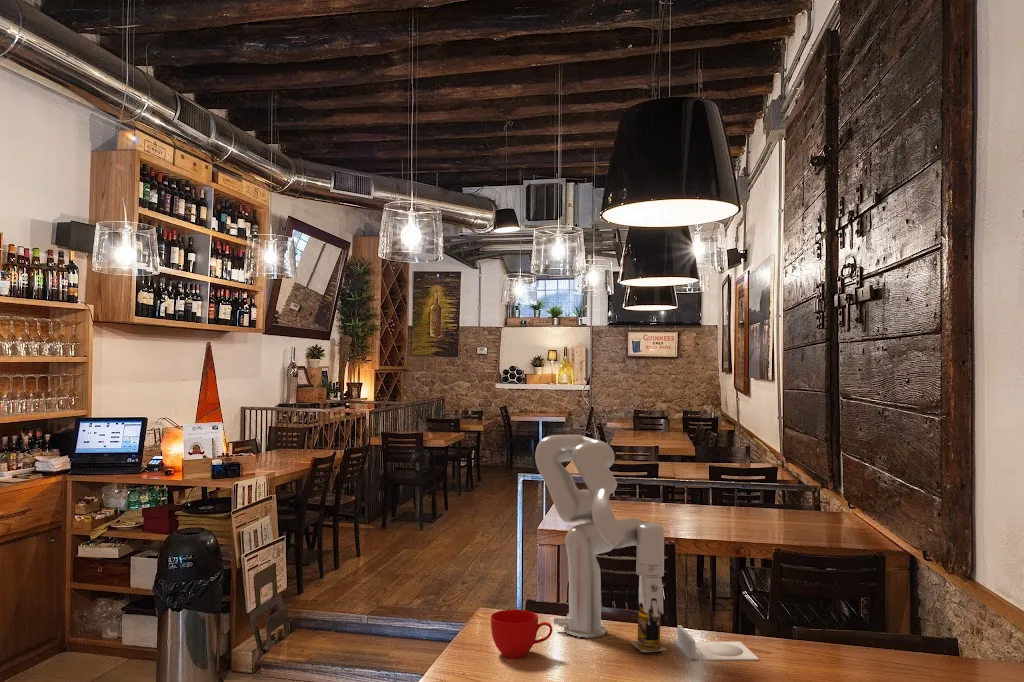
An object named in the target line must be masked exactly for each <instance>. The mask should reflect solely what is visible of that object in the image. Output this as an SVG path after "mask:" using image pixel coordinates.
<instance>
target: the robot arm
mask: <svg viewBox="0 0 1024 682" xmlns="http://www.w3.org/2000/svg"><path fill="white" fill-rule="evenodd" d="M534 455H535V465H536V467H537V470H538V472H539V474H540V476H541V477H542V479H543V481H544V483H545V485H546V487H547V490H548V493H549V495H550V497H551V501H552V502H553V505H554V507H555V509H556V512H557V514H558V515H559V518H560V519H561V520H562V521H563V522H565V523H571V524H572V523H578V522H583V523H579V524H576V525H574V526H572V527H571V528H570V529H569V530H568V531H567V533H566V535H565V539H564V540H565V541H564V542H565V549H566V553H567V555H566V556H567V562H568V563H567V564H568V613H566V616H564V617H553V625H558V627H563V631H565V632H566V633H568V634H570V635H574V636H577V637H576V638H580V637H585V638H584V639H594V637H595V638H599V637H602V636H604V635H605V634H607V628H606V626H605V625H603V624H602V604H601V603H602V602H601V601H602V600H601V599H602V598H601V597H602V594H601V593H602V591H601V590H602V588H601V586H602V585H601V583H602V582H601V577H602V576H601V567H600V564H599V562H598V559H597V557H596V555H599V554H605V553H609V552H611V551H612V550H613V549H622V548H623V549H624V548H625V547H627V548H628V547H631V546H636V567H635V569H636V571H635V573H636V575H637V576H638V578H639V579H638V605H640V603H642V605H643V609H644V612H645V613H646V614H647V623H648V624H646V639H647V640H658V612H659V614H660V615H663V614H664V593H663V592H664V591H663V590H664V589H663V580H662V578H663V577H664V576H665V574H664V573H665V529H664V526H663V525H661V524H659V523H656V522H655V523H654V522H647V521H644V520H642V519H640V518H636V517H635V518H634V517H630V518H624V519H619V520H618V519H617V518H616V516H615V514H614V513H613V511H612V509H611V506H610V497H611V494H613V493H614V492H615V491H616V489H617V488H618V483H617V480H616V477H615V476H614V475H613V473H612V472H611V470H610V468H611V467H612V466H613V465H614V463H615V459H616V458H615V452H614V450H613V448H612V447H611V446H610V444H609V443H606V441H602V440H599V439H595V438H591V437H588V436H585V435H580V434H553V435H548V436H546V437H544V438H542V439H541V440H540V441H539V442H538V443H537V446H536V449H535V454H534ZM564 462H565V463H566V462H573V463H574V466H575V467H576V469H577V471H578V473H579V475H580V477H581V479H582V480H583V482H584V484H585V486H586V488H587V489H579V488H578V487H577V485H576V483H575V481H574V478H573V476H572V475H571V473H570V472H569V470H568V469H567V468H566V467H565V466H564V465H563V464H562V463H564ZM657 608H658V610H657ZM649 611H652V613H649ZM650 615H651V616H652V617H651V618H650ZM565 632H564V633H565ZM566 633H565V634H566ZM568 634H567V635H568ZM570 635H569V636H570ZM574 636H573V637H574Z"/></svg>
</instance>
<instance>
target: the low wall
mask: <svg viewBox="0 0 1024 682" xmlns="http://www.w3.org/2000/svg"><path fill="white" fill-rule="evenodd" d="M676 629H677V641H673V643H674V645H675V646H676V648H677V649H678V650H679V652H681V654H682V655H683V657H685V659H686V660H687V661H688V662H691V661H692V662H693V661H694V662H697V661H698V662H700V657H699V656H698V655H697V654H696V653H697V652H696V648H695V642H696V641H695V639H694V638H693V637H692V636H691V635H690V633H689V632H687V630H686V629H685V628H684V627H683V626H682V625H681V624H680V625H679V624H678V625H677V627H676Z"/></svg>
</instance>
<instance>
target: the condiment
mask: <svg viewBox="0 0 1024 682" xmlns="http://www.w3.org/2000/svg"><path fill="white" fill-rule="evenodd" d="M657 610H658V608H657ZM649 613H652V611H649ZM637 617H638V618H637V640H630V641H629V640H628V642H629V643H631V644H632V645H633V646H634V647H635V648H636V649H638V650H639V651H640V652H641V653H653V652H655V653H656V652H660V651H667V648H665V647H664V646H662V645H661V614H660V613H659V612H658V640H647V639H646V624H648V623H647V614H646V613H645V612H644V609H643V605H642V603H640V604H639V612H638V614H637ZM651 617H652V616H651V615H650V618H651Z"/></svg>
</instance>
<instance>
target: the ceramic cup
mask: <svg viewBox="0 0 1024 682" xmlns="http://www.w3.org/2000/svg"><path fill="white" fill-rule="evenodd" d="M542 626H547V627H548V628H549V632H548V633H547V635H546V636H544V637H542V638H540V639H537V635H538V634H537V633H538V630H539V628H541V627H542ZM490 628H491V629H490V631H491V635H492V640H493V642H494V645H495V646H496V648H497V650H498V651H499V652H500V653H501V655H502V656H503V657H505V658H508V659H520V658H523V657H526V656H527V654H528V653H529V652H530V650H532V648H533V647H534V645H535V644H540V643H542V642H545V641H547V640H548V639H550V637H551V635H552V634H553V626H552V624H551V623H549V622H546V621H544V622H539V615H538V614H537V613H535V612H534V611H529V610H525V609H524V610H523V609H505V610H499V611H495V612H494V613H492V614H491V615H490Z"/></svg>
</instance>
